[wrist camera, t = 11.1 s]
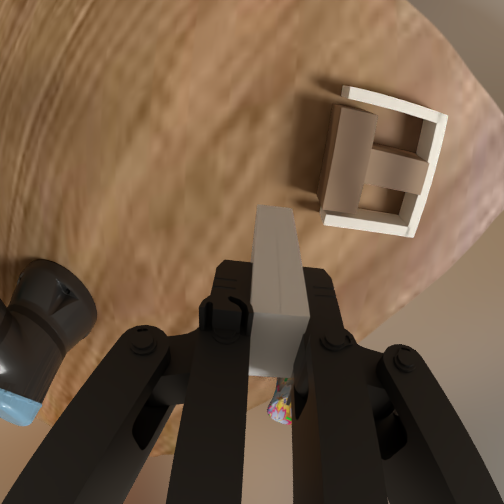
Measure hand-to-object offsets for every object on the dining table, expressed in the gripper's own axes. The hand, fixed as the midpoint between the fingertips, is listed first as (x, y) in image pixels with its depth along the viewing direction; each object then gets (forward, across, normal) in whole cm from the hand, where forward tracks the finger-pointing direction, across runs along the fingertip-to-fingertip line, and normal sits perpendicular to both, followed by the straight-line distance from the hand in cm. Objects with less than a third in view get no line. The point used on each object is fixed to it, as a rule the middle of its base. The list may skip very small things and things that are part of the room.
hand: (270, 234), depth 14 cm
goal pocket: (+19, +12, 0) cm, 22 cm away
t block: (+19, +11, 0) cm, 22 cm away
